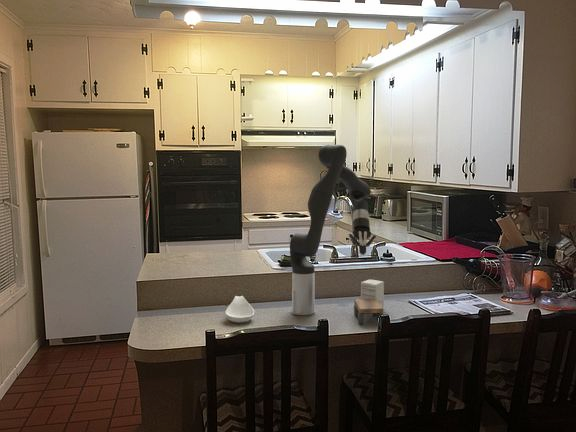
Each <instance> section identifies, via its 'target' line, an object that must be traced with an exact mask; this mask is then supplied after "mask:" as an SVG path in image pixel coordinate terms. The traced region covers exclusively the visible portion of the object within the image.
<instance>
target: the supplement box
mask: <svg viewBox="0 0 576 432" xmlns="http://www.w3.org/2000/svg"><path fill="white" fill-rule="evenodd" d="M384 289H385V281H382V280H375V279H367V280H364V281H361V282H360V299H376V300H377V301H378V302H379V304H380V305H381V306H382V307H383V311H384V310H385V309H384V308H385V307H384V306H385V305H384V304H385V302H384V300H385V299H384V298H385V297H384V296H385V295H384V293H385V290H384ZM370 314H371V315H372V313H370Z"/></svg>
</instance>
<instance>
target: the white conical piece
mask: <svg viewBox="0 0 576 432" xmlns="http://www.w3.org/2000/svg"><path fill="white" fill-rule="evenodd" d="M255 312H256V311H255V310H254V308H253V306H252V305H251V304H250V303H249V302H248V301H247V299H246V298H245V297H244V296H243V295H241V296H237V295H235V296H234V298H233V300H232V301H231V303H230V304H229V305H228V306H227V308H226V310H225V311H224V315H225V317H226V318H227V319H228V320H229V321H230V322H233V323H237V324H238V323H239V324H241V323H242V324H243V323H247V322H249V321H250V320H251V319H253V317H254V315H255Z"/></svg>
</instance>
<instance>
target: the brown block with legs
mask: <svg viewBox="0 0 576 432" xmlns="http://www.w3.org/2000/svg"><path fill="white" fill-rule="evenodd" d="M353 299H354V298H353ZM353 304H354V305H353V314H354V315H353V316H354V317H355V318H357V321H358V325H364V324H365V314H371V313H372V314H371V315H372V317H376V322H377V324H378V318H379V316H380V315H383V316H384V310H383V307H382V306H381V305H380V304H379V302H378V301H377V300H376V299H361V298H360V299H358V298H356V299H354V300H353Z"/></svg>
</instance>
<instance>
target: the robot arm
mask: <svg viewBox="0 0 576 432" xmlns="http://www.w3.org/2000/svg"><path fill="white" fill-rule="evenodd" d="M347 153H348V152H347V148H346V147H345V146H344V145H343V144H324V145H322V146H321V147H320V148H319V151H318V159H319V161H320V163H321V164H322V165H323V166H324V167H325V168H326V169H328V170H327V171H326V173H325V175H323V177H321V178H320V179H319V180H318V181H317V182H316V184H314V186H313V187H312V189H311V191H310V194H309V197H308V201H307V209H308V213H309V217H310V225H309V229H308V231H307V233H299V232H298V233H294V234H293V235H292V236H291V238H290V241H289V259H290V266H291V270H292V271H291V272H292V279H291V281H292V282H291V283H292V289H291V297H292V298H291V302H292V303H291V304H292V306H291V311H292V315H297V316H310V315H311V316H312V315H314V314H315V309H316V307H315V279H316V278H315V275H316V274H315V265H314V264H313V263H311V262H310V261H309V260H308V259H307V257H308V258H312V257H314V256H315V255H316V254H317V253H318V251H319V247H320V243H321V238H322V233H323V229H324V224H325V221H326V217H327V214H328V211H329V208H330V205H331V202H332V198H333V196H334V193H335V192H334V191H335V190H336V189H335V188H336V185H337V182H338V180H340V181H341V182H342V183H343V185H344V186H345V188H346V189H347V190H348V196H349V197H348V198H350V201H351V204H352V224H353V227H352V228H353V231H352V232H351V233H349V235H348V237H347V238H348V239H349V240H350V242H351V243H352V244H353V245H354V246H355V247H358V250H359V252H358V253H359V254H360V255H361V256H362V255H363V256H364V255H366V253H367V248H369V247H370V246H371V245H372V243H373V242H374V241H375V240H376V237H377V236H376V235H374V234H372V232H371V226H370V215H369V206H368V205H369V204H368V202H367V201H366V200H364V199H366V198H369V197H370V196H371V193H372V191H371V188H370V186H369V184H368V183H366V181H363V180H362V179H360V178H359V177H358V176H357V174H356V173H355V172H354V171H353V170H352V169H351V168H350V167H348V166H347V165H345V163H346V160H347ZM367 241H368V242H367Z"/></svg>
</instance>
